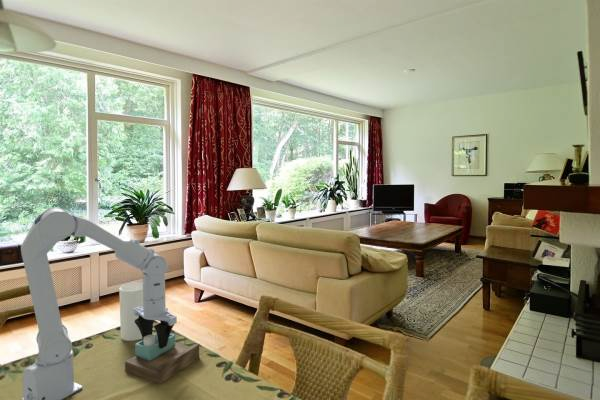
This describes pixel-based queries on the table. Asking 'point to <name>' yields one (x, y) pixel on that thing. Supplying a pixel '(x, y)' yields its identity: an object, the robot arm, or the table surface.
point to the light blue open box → (152, 347)
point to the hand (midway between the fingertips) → (155, 344)
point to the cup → (130, 310)
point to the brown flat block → (164, 363)
